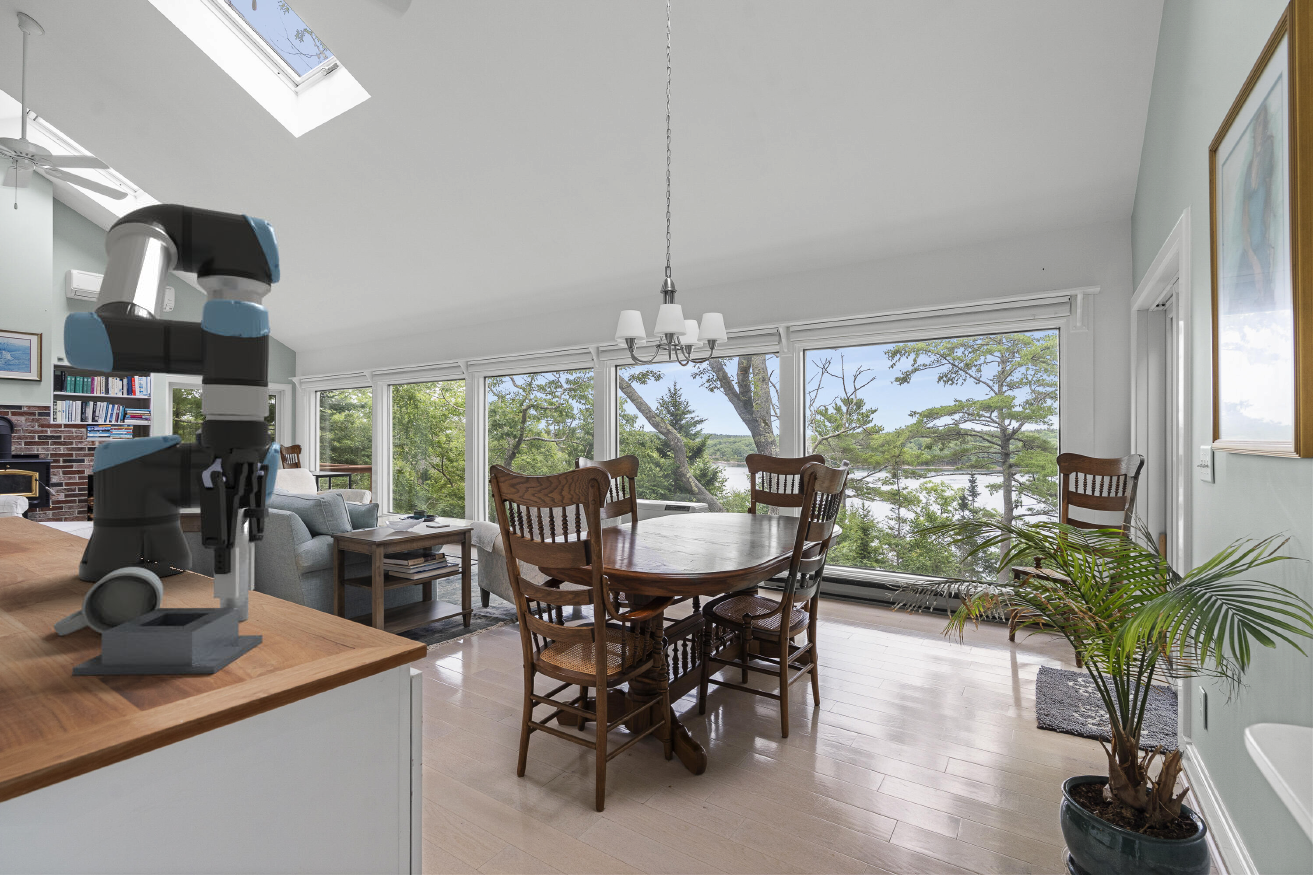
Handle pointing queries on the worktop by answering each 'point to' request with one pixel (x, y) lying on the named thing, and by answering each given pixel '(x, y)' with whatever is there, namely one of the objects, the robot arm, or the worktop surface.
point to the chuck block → (171, 643)
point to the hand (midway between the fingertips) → (234, 593)
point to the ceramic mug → (115, 601)
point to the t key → (243, 559)
